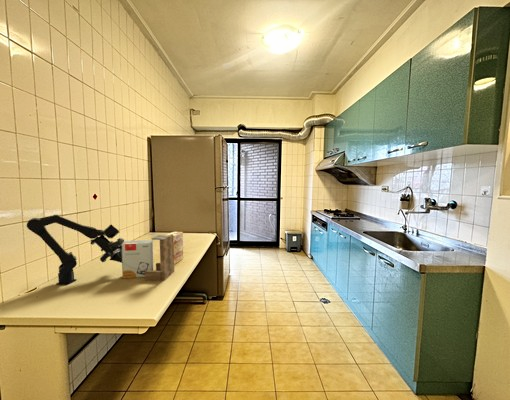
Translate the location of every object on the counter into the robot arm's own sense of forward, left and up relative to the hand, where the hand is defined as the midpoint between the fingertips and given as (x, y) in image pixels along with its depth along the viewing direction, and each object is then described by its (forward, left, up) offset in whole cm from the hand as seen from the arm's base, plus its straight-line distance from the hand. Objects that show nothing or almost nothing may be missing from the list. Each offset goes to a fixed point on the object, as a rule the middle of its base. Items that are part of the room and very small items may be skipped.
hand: (124, 262), depth 143 cm
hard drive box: (0, -8, -7) cm, 11 cm away
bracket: (0, -22, -7) cm, 23 cm away
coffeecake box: (+25, -19, -7) cm, 32 cm away
